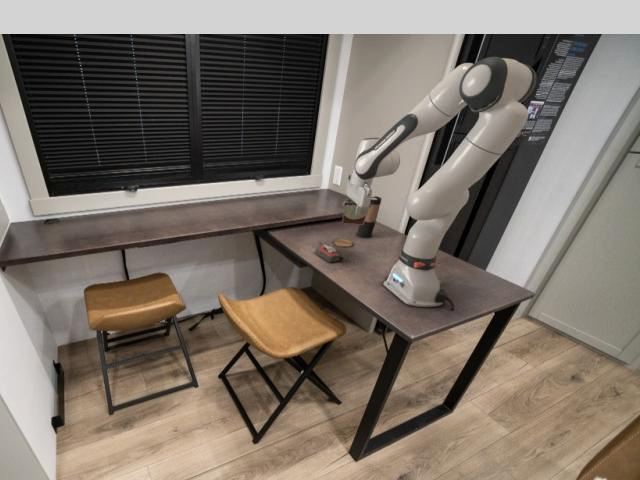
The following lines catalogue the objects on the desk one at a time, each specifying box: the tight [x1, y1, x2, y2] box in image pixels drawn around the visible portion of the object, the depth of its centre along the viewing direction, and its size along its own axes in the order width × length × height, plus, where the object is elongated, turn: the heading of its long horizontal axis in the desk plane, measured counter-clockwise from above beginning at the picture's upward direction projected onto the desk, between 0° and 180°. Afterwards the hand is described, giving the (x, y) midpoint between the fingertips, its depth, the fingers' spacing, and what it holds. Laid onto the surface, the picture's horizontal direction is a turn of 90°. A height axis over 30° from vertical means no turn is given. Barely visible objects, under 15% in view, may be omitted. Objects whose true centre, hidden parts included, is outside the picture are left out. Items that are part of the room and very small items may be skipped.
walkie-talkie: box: [315, 241, 344, 263], centre depth 145 cm, size 9×4×20 cm
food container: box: [341, 198, 371, 226], centre depth 140 cm, size 12×6×10 cm, turn 85°
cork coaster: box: [333, 238, 353, 248], centre depth 157 cm, size 9×9×1 cm
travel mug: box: [357, 195, 382, 239], centre depth 161 cm, size 8×8×20 cm
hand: (354, 211), depth 140 cm, fingers closed on food container, 5 cm apart
